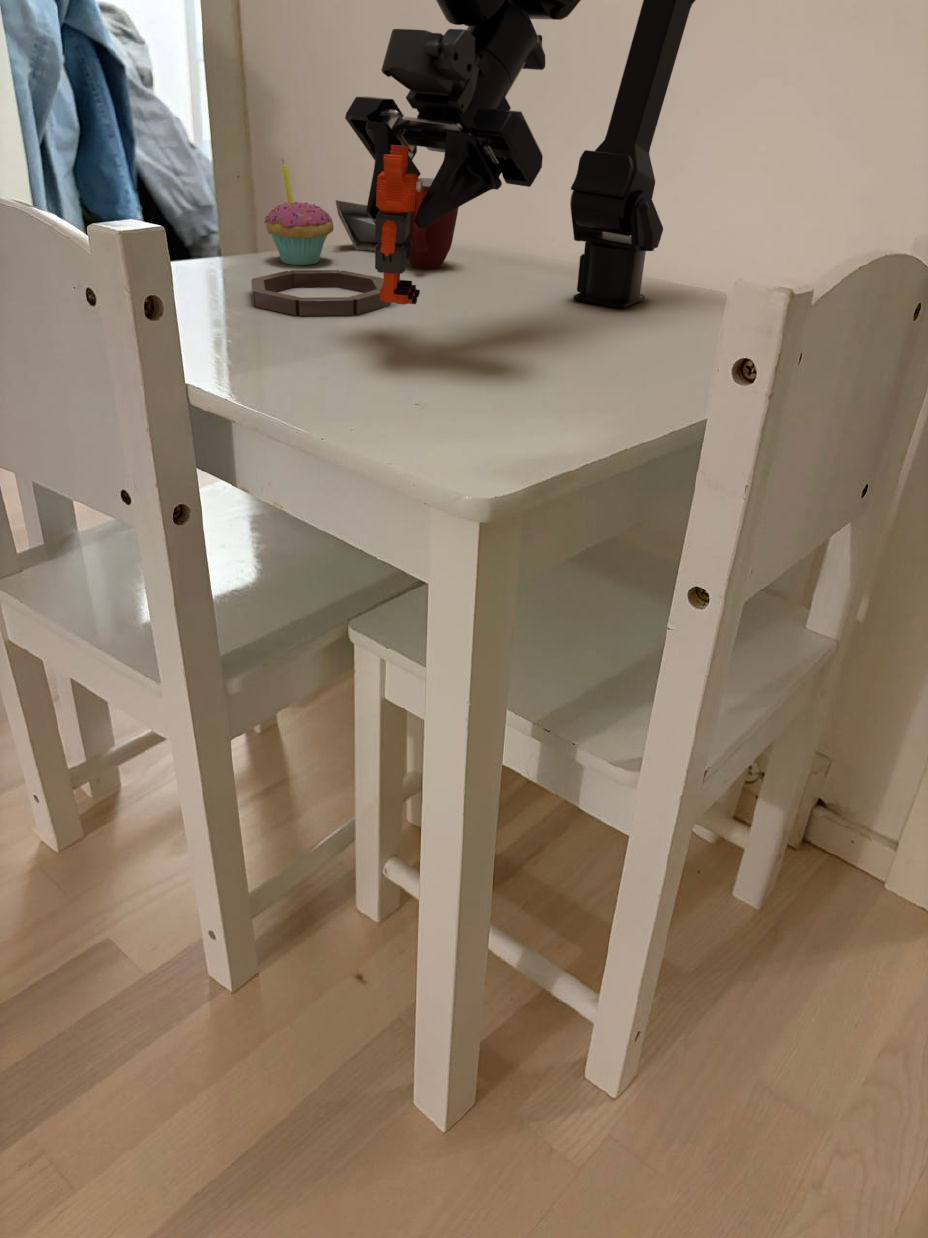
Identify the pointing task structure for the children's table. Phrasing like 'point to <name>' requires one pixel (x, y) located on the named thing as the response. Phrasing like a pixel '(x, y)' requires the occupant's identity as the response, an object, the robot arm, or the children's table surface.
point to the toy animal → (396, 225)
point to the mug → (431, 238)
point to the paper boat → (358, 225)
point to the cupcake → (298, 228)
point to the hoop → (317, 306)
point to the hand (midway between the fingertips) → (393, 220)
